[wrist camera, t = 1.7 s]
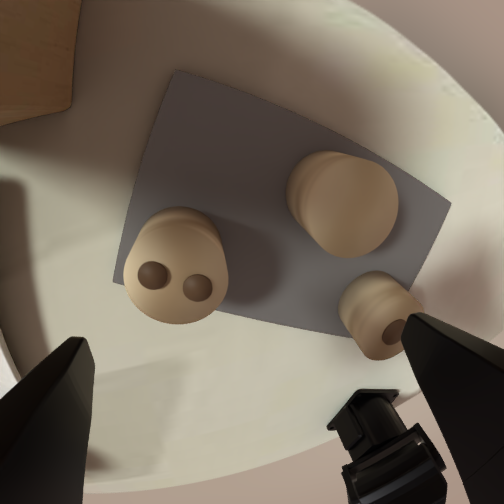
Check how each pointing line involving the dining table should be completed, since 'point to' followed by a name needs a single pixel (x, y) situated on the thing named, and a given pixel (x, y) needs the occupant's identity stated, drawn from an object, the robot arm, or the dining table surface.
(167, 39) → the dining table surface
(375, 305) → the one dot puck
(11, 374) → the salad plate
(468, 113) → the dining table surface
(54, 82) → the wooden block
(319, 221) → the plain puck
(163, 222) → the two dot puck
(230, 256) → the mat
